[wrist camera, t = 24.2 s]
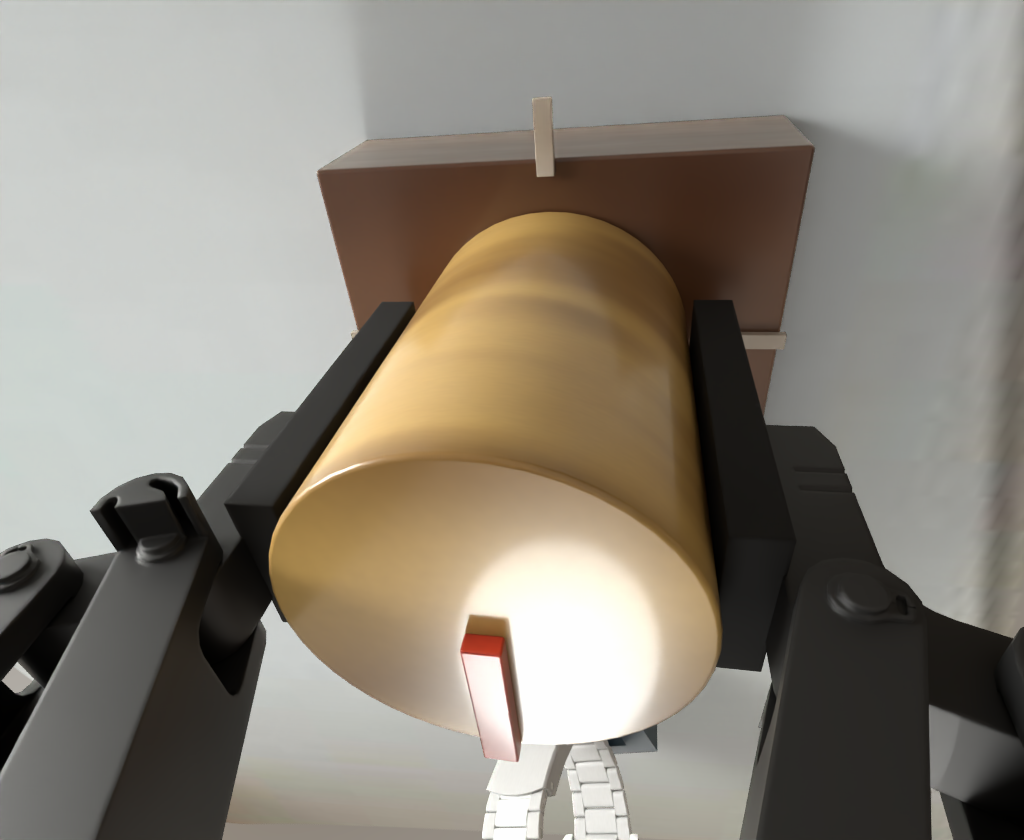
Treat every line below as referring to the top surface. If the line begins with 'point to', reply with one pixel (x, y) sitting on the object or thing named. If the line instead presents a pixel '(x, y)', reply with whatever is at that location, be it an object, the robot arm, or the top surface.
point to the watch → (589, 772)
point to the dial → (518, 501)
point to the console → (585, 207)
